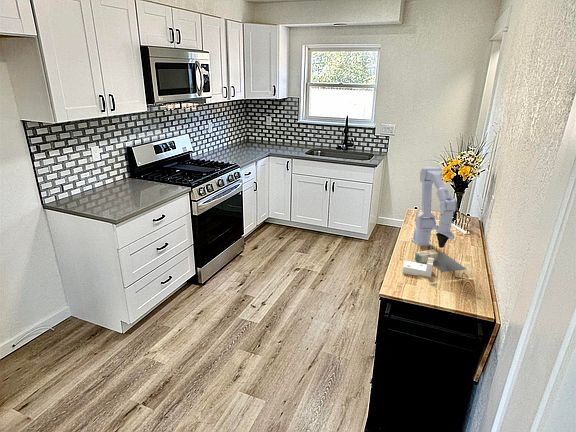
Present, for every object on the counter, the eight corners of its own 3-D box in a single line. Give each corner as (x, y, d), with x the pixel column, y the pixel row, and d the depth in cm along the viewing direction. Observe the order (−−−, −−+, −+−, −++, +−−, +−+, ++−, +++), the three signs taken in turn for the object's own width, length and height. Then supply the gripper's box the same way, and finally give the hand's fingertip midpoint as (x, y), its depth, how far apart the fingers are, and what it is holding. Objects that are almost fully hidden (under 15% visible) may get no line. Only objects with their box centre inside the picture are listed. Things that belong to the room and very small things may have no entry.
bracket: (431, 272, 182) (433, 258, 180) (430, 278, 176) (432, 264, 173) (404, 266, 187) (406, 253, 184) (402, 273, 181) (404, 259, 178)
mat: (420, 255, 198) (420, 254, 198) (443, 253, 201) (443, 252, 201) (441, 273, 181) (441, 271, 181) (466, 270, 184) (466, 269, 184)
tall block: (433, 256, 195) (415, 259, 194) (433, 249, 193) (415, 252, 192) (437, 260, 191) (419, 263, 190) (438, 253, 189) (419, 256, 188)
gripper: (430, 218, 192) (426, 241, 197) (447, 228, 179) (442, 253, 184) (442, 217, 194) (438, 240, 199) (460, 227, 181) (455, 252, 185)
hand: (441, 247), depth 191 cm, fingers closed
